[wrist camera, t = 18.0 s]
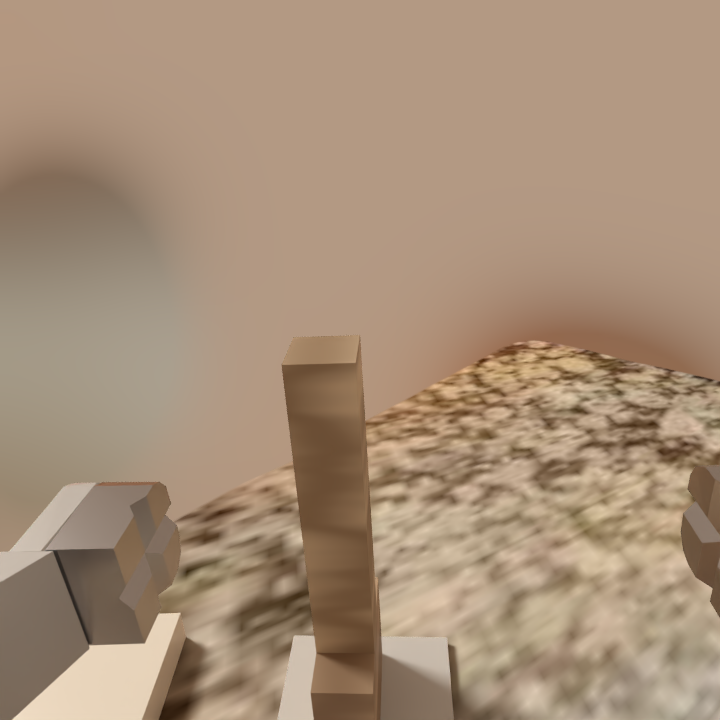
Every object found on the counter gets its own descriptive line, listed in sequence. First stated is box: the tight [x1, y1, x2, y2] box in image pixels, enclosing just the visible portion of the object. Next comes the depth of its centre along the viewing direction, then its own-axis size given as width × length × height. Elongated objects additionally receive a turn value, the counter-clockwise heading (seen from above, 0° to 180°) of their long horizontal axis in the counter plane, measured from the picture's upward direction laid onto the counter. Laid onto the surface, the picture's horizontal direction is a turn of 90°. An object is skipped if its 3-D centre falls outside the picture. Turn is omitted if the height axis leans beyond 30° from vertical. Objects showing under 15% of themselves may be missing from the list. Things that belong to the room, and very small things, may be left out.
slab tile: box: [12, 613, 186, 720], centre depth 29 cm, size 2×8×10 cm
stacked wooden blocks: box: [282, 335, 382, 720], centre depth 24 cm, size 2×6×18 cm, turn 177°
